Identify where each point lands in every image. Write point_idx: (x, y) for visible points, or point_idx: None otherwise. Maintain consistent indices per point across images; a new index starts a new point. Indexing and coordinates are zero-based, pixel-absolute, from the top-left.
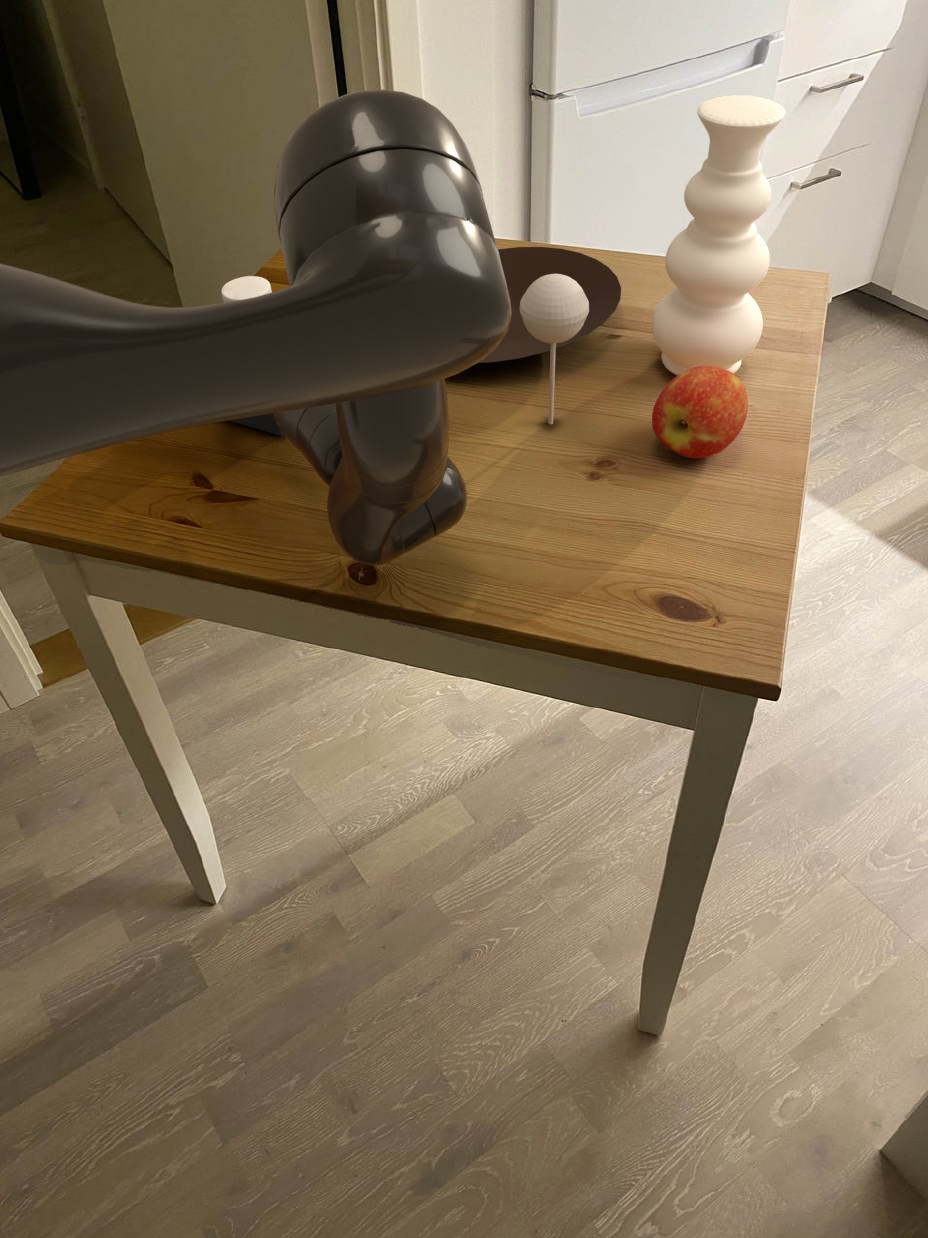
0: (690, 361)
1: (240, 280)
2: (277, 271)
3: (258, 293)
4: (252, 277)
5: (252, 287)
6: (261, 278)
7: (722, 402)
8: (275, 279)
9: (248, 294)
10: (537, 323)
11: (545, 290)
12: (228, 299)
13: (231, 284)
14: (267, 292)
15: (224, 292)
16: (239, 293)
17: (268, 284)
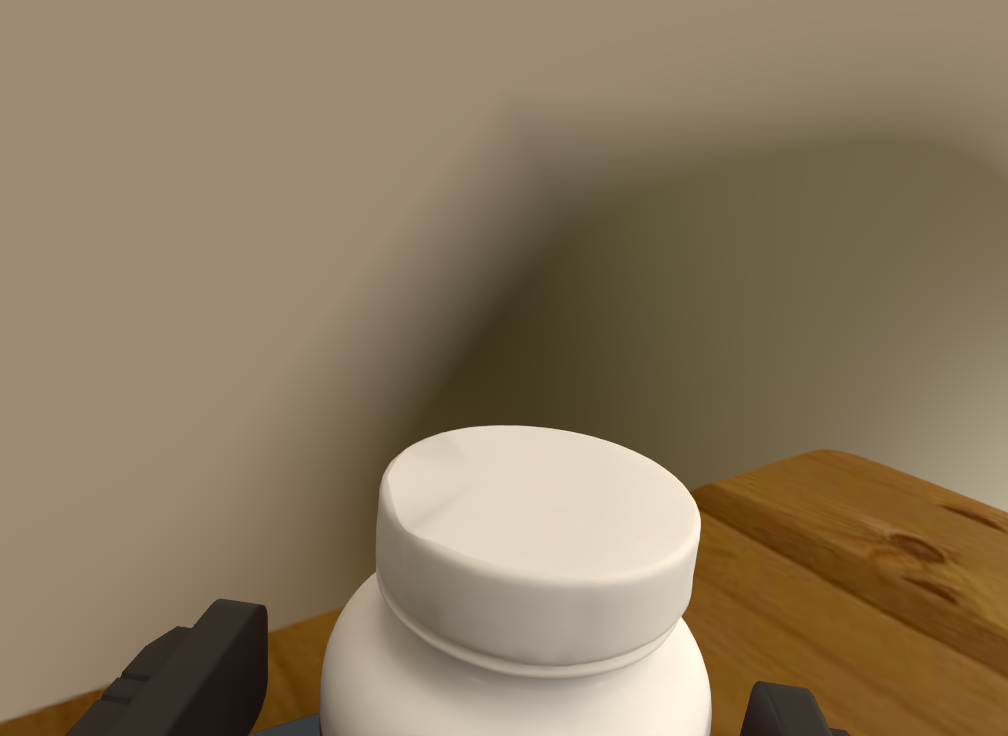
0: None
1: (545, 441)
2: (721, 493)
3: (585, 559)
4: (616, 452)
5: (577, 501)
6: (662, 475)
7: None
8: (710, 507)
9: (516, 534)
10: None
11: None
12: (381, 509)
13: (486, 441)
14: (656, 580)
15: (405, 461)
16: (472, 502)
17: (688, 526)
